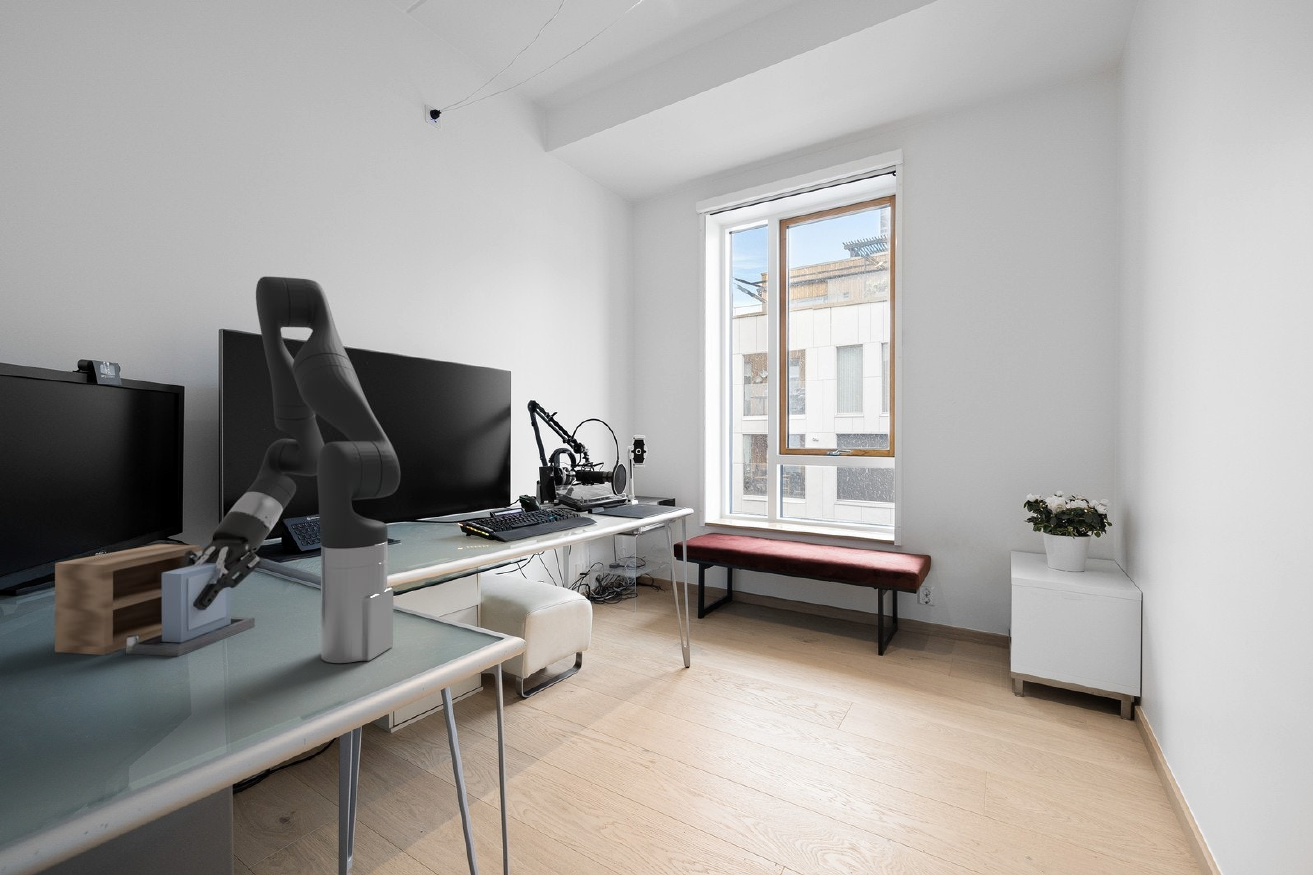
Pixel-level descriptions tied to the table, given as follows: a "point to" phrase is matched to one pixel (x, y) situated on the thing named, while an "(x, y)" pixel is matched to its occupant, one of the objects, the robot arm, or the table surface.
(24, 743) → the table surface
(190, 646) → the dark grey tray
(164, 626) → the recessed panel box
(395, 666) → the table surface
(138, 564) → the cabinet
